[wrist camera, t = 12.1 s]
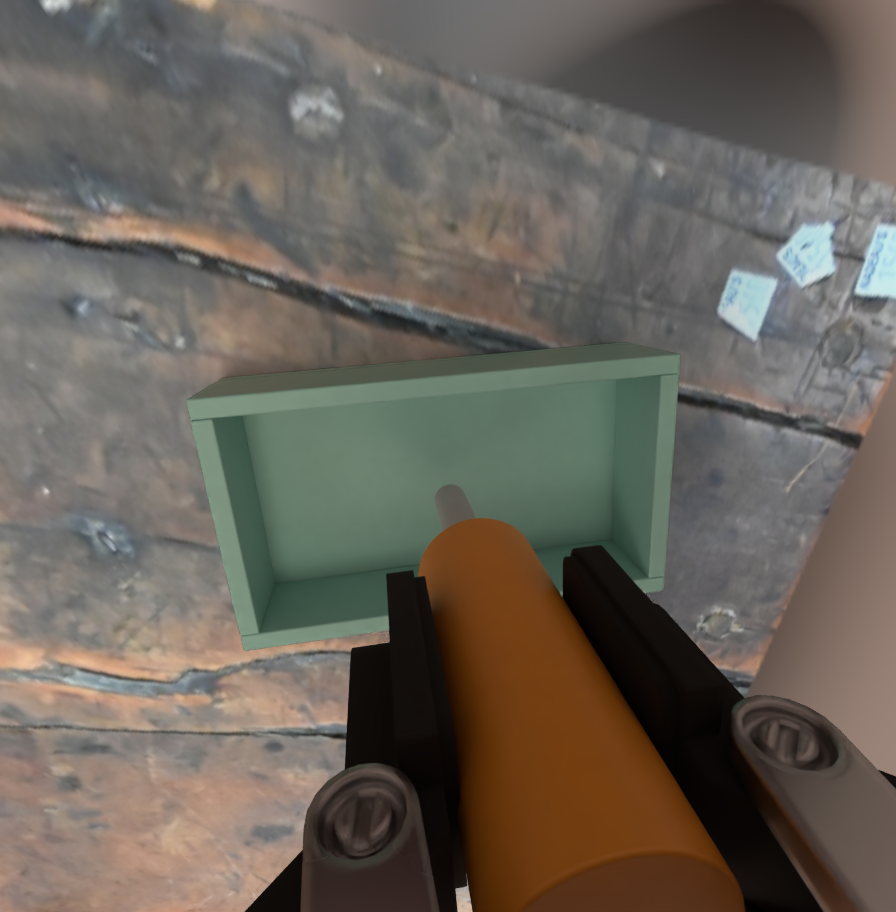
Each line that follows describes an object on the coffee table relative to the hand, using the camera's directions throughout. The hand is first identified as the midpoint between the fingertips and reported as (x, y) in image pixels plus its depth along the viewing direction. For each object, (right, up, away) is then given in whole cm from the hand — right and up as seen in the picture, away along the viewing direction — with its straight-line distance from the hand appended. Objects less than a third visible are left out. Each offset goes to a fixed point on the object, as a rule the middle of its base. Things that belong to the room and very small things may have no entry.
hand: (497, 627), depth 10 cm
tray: (-1, +3, +9) cm, 10 cm away
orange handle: (-1, +2, +6) cm, 7 cm away
